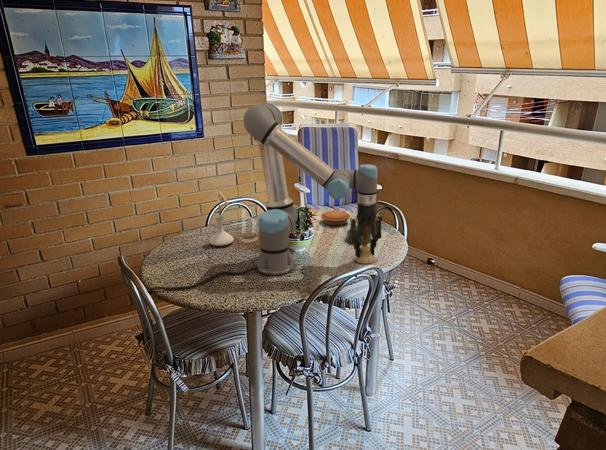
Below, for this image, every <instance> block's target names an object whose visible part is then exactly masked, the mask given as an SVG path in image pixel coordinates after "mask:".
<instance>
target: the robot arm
mask: <svg viewBox="0 0 606 450" xmlns="http://www.w3.org/2000/svg"><path fill="white" fill-rule="evenodd" d="M283 117H284V116H283V113H282V111H281V110H280V108H279V107H278V106H276V105H275V104H273V103H268V102H263V103H259V104H254V105H252V106H250V107H249V108H248V109H246V111H245V112H244V115H243V119H242V120H243V121H242V122H243V126H244V129H245V130H246V132H247V133H248V134H249V135H250V136H251V137H252V138H253V141H254V142H256V143H257V144H258V148H259V152H260V158H261V164H262V169H263V175H264V176H263V177H264V182H265V187H266V193H267V199H268V201H267V202H266V204H265V208H266V211H263V212H262V213H261V214H259V216H258V223H257V224H258V234H259V254H258V258H257V262H256V266H254V267H251V268H248V269H245V270H242V271H230V270H229V271H220V272H217V273H214V274H212V275H210V276H209V277H207V278H205V279H203V280H201V281H199V282H197V283H194V284H191V285H185V286H153V287H150V288H148V290H147V291H146V293H147V292H148V293H147V294H149V293H150V292H152V291H155V290H166V291H169V290H170V291H171V290H174V291H175V290H187V289H192V288H196V287H198V286H200V285H202V284H204V283H206V282H208V281H210V280H212V279H214V278H216V277H218V276H220V275H244V274H246V273H248V272H251V271H254V270H257V272H258V273H260V274H261V275H264V276H273V277H274V276H282V275H283V276H284V275H287V274H289V273H291V272H292V271H293V270H294V269H295V262H294V259H293V257H292V256H294V255H295V254H294V252H293V251H292V250H290V241H289V240H290V239H289V235H290V233H291V232H292V230H293V229H294V227H295V226H296V224H297V222H298V218H299V217H298V215H299V214H298V210H297V208H296V207H295V206H294V205H295V204H294V200H293V199H292V198H291V197H289V190H288V185H287V179H286V171H285V165H284V159H286V160H287V161H288V162H290V163H291V164H292V165H294V166H295V167H296V168H298V169H299V171H301V172H303V173H304V174H306V175H307V176H308V177H309V178H311V179H312V180H313V181H314V182H316V183H317V184H319V185H320V186H321V187H322V188H324V189H325V190H326V191H327V194H328V196H329V197H330V198H332V199H333V200H341V199H345V197H346V196H347V195H348V193H349V192H350V189H352V190H357V205H356V206H357V207H356V209H357V210H356V212H357V213H356V216H355V217H350V218H349V221H350V238H349V239H350V241H352V242H354V244H353V249H354V252H355V253H354V255H355V257H356V256H357V257H358V258H359V257H360V247H361V244H360V243H359V242H358V241H359V238H360V236H361V233H362V230H363V228H364V226H366V225H369V228H370V232H371V235H372V236H371V239H370V243H369V244H370V245H369V247H370V251H371V255H372V256H375V249H376V248H377V242H379V239H382V221H383V216H382V215H381V214H377V215H376V213H375V212H376V204H375V203H376V197H377V192H378V177H379V174H378V173H379V172H378V167H377V166H376V165H375V164H370V163H366V164H360V165H359V166H358V169H339V168H335V169H334V168H333V167H331V166H330V165H329V164H327V163H326V162H325V161H324V160H322V159H321V158H320V157H318V156H317V155H316V154H314V153H313V152H312V151H310V150H309V149H308V148H307V147H306V146H304V145H303V144H301V143H300V142H299V141H298V140H297V139H295V138H293V137H292V136H291V135H290V134H288V133H287V132H286V131H284V130H283V129H282V125H283V122H284V121H283V120H284V118H283ZM283 158H284V159H283ZM375 219H376V231H375V229H374V223H373V221H374V220H375ZM357 221H359V223H357ZM357 225H358V227H357ZM356 228H357V230H356ZM355 230H356V233H355Z"/></svg>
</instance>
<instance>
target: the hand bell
mask: <svg viewBox="0 0 606 450" xmlns="http://www.w3.org/2000/svg"><path fill="white" fill-rule="evenodd" d="M362 234H363V244H362V246H360V257H359V258H358V257H357V256H356V255H355V258H354V261H355V262H357V263H360V264H364V265H365V264H372V263H374V262H375V260H376V259H375V257H374V255H371V251H370V246H368V243H367V237H368V234H369V229H368V226H367V225H366V226H364V228H363V230H362Z"/></svg>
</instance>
